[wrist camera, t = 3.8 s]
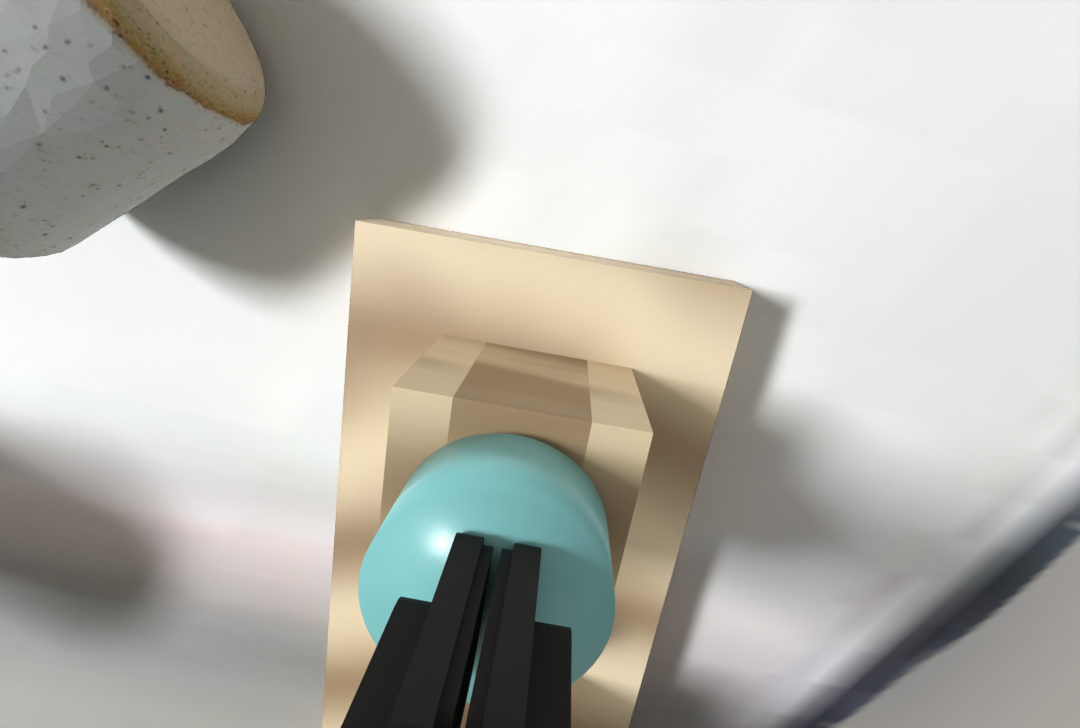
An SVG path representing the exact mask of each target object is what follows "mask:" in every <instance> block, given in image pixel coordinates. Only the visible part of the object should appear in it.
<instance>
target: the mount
mask: <svg viewBox="0 0 1080 728" xmlns="http://www.w3.org/2000/svg"><path fill="white" fill-rule="evenodd" d="M751 295H752V290H750V289H749V288H747V287H745V286H743V285H741V284H739V283H737V282H735V281H731V280H725V279H719V278H714V277H708V276H702V275H697V274H691V273H685V272H680V271H674V270H668V269H663V268H657V267H651V266H646V265H640V264H634V263H629V262H623V261H617V260H612V259H606V258H600V257H595V256H589V255H583V254H578V253H572V252H566V251H561V250H555V249H549V248H544V247H538V246H532V245H527V244H521V243H515V242H510V241H504V240H498V239H492V238H487V237H481V236H475V235H470V234H464V233H458V232H453V231H447V230H441V229H436V228H430V227H424V226H419V225H413V224H407V223H402V222H396V221H390V220H385V219H379V218H377V219H366V220H355V232H354V247H353V262H352V278H351V293H350V308H349V324H348V339H347V354H346V370H345V385H344V400H343V415H342V431H341V446H340V461H339V477H338V492H337V507H336V523H335V538H334V553H333V568H332V584H331V599H330V614H329V630H328V645H327V660H326V676H325V691H324V706H323V721H322V728H341V726H342V723H343V721H344V719H345V717H346V714H347V712H348V710H349V707H350V705H351V703H352V701H353V698H354V696H355V694H356V692H357V689H358V687H359V685H360V683H361V680H362V678H363V676H364V674H365V671H366V669H367V667H368V665H369V662H370V660H371V658H372V656H373V653H374V651H375V649H376V647H377V645H376V644H375V642H374V641H373V639H372V638H371V636H370V634H369V632H368V629H367V627H366V625H365V623H364V620H363V616H362V613H361V610H360V603H359V596H358V581H359V575H360V569H361V565H362V562H363V559H364V556H365V554H366V552H367V550H368V548H369V546H370V544H371V542H372V540H373V539H374V537H375V535H376V534H377V532H378V530H379V529H380V527H381V525H382V524H383V522H384V520H385V518H386V517H387V515H388V513H389V512H390V510H391V508H392V507H393V505H394V503H395V502H396V500H397V498H398V496H399V495H400V493H401V491H402V490H403V488H404V486H405V485H406V483H407V481H408V480H409V478H410V476H411V475H412V474H413V472H414V471H415V470H416V468H417V467H418V466H419V465H420V464H421V463H422V462H423V461H424V460H425V459H426V458H427V457H428V456H430V455H431V454H432V453H434V452H435V451H436V450H438V449H440V448H441V447H443V446H445V445H447V444H449V443H451V442H454V441H456V440H459V439H461V438H465V437H469V436H473V435H479V434H487V433H506V434H515V435H520V436H524V437H529V438H533V439H535V440H538V441H541V442H543V443H546V444H548V445H550V446H552V447H554V448H555V449H557V450H559V451H561V452H562V453H563V454H565V455H566V456H568V457H569V458H571V459H572V460H573V461H574V462H575V463H576V464H577V465H578V466H580V467H581V469H582V470H583V471H584V472H585V473H586V474H587V475H588V477H589V478H590V479H591V481H592V482H593V484H594V486H595V487H596V489H597V491H598V493H599V495H600V497H601V499H602V502H603V505H604V509H605V512H606V518H607V525H608V534H609V544H610V554H611V563H612V573H613V583H614V592H615V618H614V623H613V629H612V632H611V635H610V637H609V640H608V643H607V644H606V646H605V648H604V650H603V652H602V654H601V655H600V657H599V658H598V659H597V661H596V662H595V663H594V665H593V666H592V667H591V668H590V669H589V670H588V671H587V672H586V673H585V674H584V675H583V676H582V677H580V678H579V679H578V680H576V681H575V682H574V683H573V684H571V728H629V724H630V721H631V717H632V714H633V710H634V707H635V703H636V699H637V696H638V692H639V689H640V685H641V682H642V678H643V675H644V671H645V668H646V664H647V661H648V657H649V654H650V650H651V647H652V643H653V640H654V636H655V633H656V629H657V626H658V622H659V619H660V615H661V612H662V608H663V605H664V601H665V597H666V594H667V590H668V587H669V583H670V580H671V576H672V573H673V569H674V566H675V562H676V559H677V555H678V552H679V548H680V545H681V541H682V538H683V534H684V531H685V527H686V524H687V520H688V517H689V513H690V510H691V506H692V502H693V499H694V495H695V492H696V488H697V485H698V481H699V478H700V474H701V471H702V467H703V464H704V460H705V457H706V453H707V450H708V446H709V443H710V439H711V436H712V432H713V429H714V425H715V422H716V418H717V415H718V411H719V408H720V404H721V400H722V397H723V393H724V390H725V386H726V383H727V379H728V376H729V372H730V369H731V365H732V362H733V358H734V355H735V351H736V348H737V344H738V341H739V337H740V334H741V330H742V327H743V323H744V320H745V316H746V313H747V309H748V306H749V302H750V298H751ZM469 705H470V703H466V705H465V709H464V714H463V718H462V723H461V728H465V725H466V720H467V715H468V710H469Z"/></svg>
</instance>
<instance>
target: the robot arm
mask: <svg viewBox="0 0 1080 728" xmlns="http://www.w3.org/2000/svg"><path fill="white" fill-rule="evenodd" d="M483 544H484V537H480V536H475V535H469V534H464V533H458V532H457V533H456V535H455V538H454V540H453V543H452V546H451V549H450V552H449V554H448V557H447V560H446V563H445V566H444V568H443V571H442V574H441V577H440V580H439V582H438V585H437V588H436V591H435V594H434V597H433V599H432V602H428V601H423V600H418V599H412V598H407V597H400V598H399V599H398V600H397V602H396V604H395V606H394V608H393V611H392V613H391V615H390V617H389V620H388V622H387V624H386V626H385V629H384V631H383V633H382V635H381V638H380V640H379V642H378V644H377V647H376V649H375V651H374V653H373V656H372V658H371V660H370V662H369V665H368V667H367V669H366V671H365V674H364V676H363V678H362V680H361V683H360V685H359V687H358V689H357V692H356V694H355V696H354V698H353V701H352V703H351V705H350V707H349V710H348V712H347V714H346V717H345V719H344V721H343V723H342V726H341V728H461V723H462V718H463V714H464V709H465V705H466V700H467V695H468V691H469V686H470V681H471V677H472V672H473V667H474V662H475V656H476V650H477V644H478V638H479V632H480V626H481V620H482V614H483V608H484V602H485V596H486V590H487V584H488V578H489V572H490V566H491V560H492V554H493V547H492V546H486V545H483ZM541 551H542V548H541V547H535V546H530V545H524V544H519V543H514V548H513V550H508V549H503V548H502V552H501V557H500V561H499V566H498V571H497V576H496V581H495V585H494V590H493V595H492V600H491V604H490V609H489V614H488V619H487V624H486V628H485V633H484V638H483V643H482V647H481V652H480V657H479V662H478V667H477V671H476V676H475V681H474V686H473V690H472V695H471V700H470V705H469V710H468V715H467V720H466V725H465V728H571V663H572V632H571V628H570V627H565V626H559V625H554V624H548V623H543V622H537V621H535V614H536V604H537V593H538V583H539V573H540V562H541Z"/></svg>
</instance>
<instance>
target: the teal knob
mask: <svg viewBox="0 0 1080 728" xmlns="http://www.w3.org/2000/svg"><path fill="white" fill-rule="evenodd" d="M457 532H458V533H464V534H469V535H475V536H480V537H484V544H483V545H486V546H492V547H493V554H492V560H491V566H490V572H489V578H488V584H487V590H486V596H485V602H484V608H483V614H482V620H481V626H480V632H479V638H478V644H477V650H476V656H475V662H474V667H473V672H472V677H471V681H470V686H469V691H468V695H467V700H466V703H470V700H471V695H472V690H473V686H474V681H475V676H476V671H477V667H478V662H479V657H480V652H481V647H482V643H483V638H484V633H485V628H486V624H487V619H488V614H489V609H490V604H491V600H492V595H493V590H494V585H495V581H496V576H497V571H498V566H499V561H500V557H501V552H502V548H503V549H508V550H513V548H514V543H519V544H524V545H530V546H535V547H541V548H542V551H541V562H540V573H539V583H538V593H537V604H536V614H535V621H537V622H543V623H548V624H554V625H559V626H565V627H570V628H571V632H572V663H571V684H573V683H574V682H575V681H576V680H578V679H579V678H580V677H582V676H583V675H584V674H585V673H586V672H587V671H588V670H589V669H590V668H591V667H592V666H593V665H594V663H595V662H596V661H597V659H598V658H599V657H600V655H601V654H602V652H603V650H604V648H605V646H606V644H607V643H608V640H609V637H610V635H611V632H612V629H613V623H614V618H615V592H614V583H613V573H612V563H611V554H610V544H609V534H608V525H607V518H606V512H605V509H604V505H603V502H602V499H601V497H600V495H599V493H598V491H597V489H596V487H595V486H594V484H593V482H592V481H591V479H590V478H589V477H588V475H587V474H586V473H585V472H584V471H583V470H582V469H581V467H580V466H578V465H577V464H576V463H575V462H574V461H573V460H572V459H571V458H569V457H568V456H566V455H565V454H563V453H562V452H561V451H559V450H557V449H555V448H554V447H552V446H550V445H548V444H546V443H543V442H541V441H538V440H535V439H533V438H529V437H524V436H520V435H515V434H506V433H487V434H479V435H473V436H469V437H465V438H461V439H459V440H456V441H454V442H451V443H449V444H447V445H445V446H443V447H441V448H440V449H438V450H436V451H435V452H434V453H432V454H431V455H430V456H428V457H427V458H426V459H425V460H424V461H423V462H422V463H421V464H420V465H419V466H418V467H417V468H416V470H415V471H414V472H413V474H412V475H411V476H410V478H409V480H408V481H407V483H406V485H405V486H404V488H403V490H402V491H401V493H400V495H399V496H398V498H397V500H396V502H395V503H394V505H393V507H392V508H391V510H390V512H389V513H388V515H387V517H386V518H385V520H384V522H383V524H382V525H381V527H380V529H379V530H378V532H377V534H376V535H375V537H374V539H373V540H372V542H371V544H370V546H369V548H368V550H367V552H366V554H365V556H364V559H363V562H362V565H361V569H360V575H359V581H358V596H359V603H360V610H361V613H362V616H363V620H364V623H365V625H366V627H367V629H368V632H369V634H370V636H371V638H372V639H373V641H374V642H375V644H376V645H377V644H378V642H379V640H380V638H381V635H382V633H383V631H384V629H385V626H386V624H387V622H388V620H389V617H390V615H391V613H392V611H393V608H394V606H395V604H396V602H397V600H398V599H399V598H400V597H407V598H412V599H418V600H423V601H428V602H432V599H433V597H434V594H435V591H436V588H437V585H438V582H439V580H440V577H441V574H442V571H443V568H444V566H445V563H446V560H447V557H448V554H449V552H450V549H451V546H452V543H453V540H454V538H455V535H456V533H457Z"/></svg>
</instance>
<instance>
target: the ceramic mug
mask: <svg viewBox="0 0 1080 728" xmlns="http://www.w3.org/2000/svg"><path fill="white" fill-rule="evenodd" d="M264 100H265V83H264V74H263V71H262V67H261V63H260V59H259V57H258V55H257V53H256V50H255V48H254V46H253V44H252V41H251V39H250V37H249V35H248V33H247V30H246V29H245V27H244V25H243V24H242V22H241V21H240V19H239V17H238V16H237V14H236V12H235V10H234V8H233V6H232V4H231V3H230V1H229V0H0V257H7V258H24V257H39V256H47V255H51V254H55V253H59V252H63V251H65V250H67V249H69V248H70V247H72V246H74V245H76V244H78V243H80V242H81V241H83V240H84V239H86V238H87V237H89V236H90V235H92V234H93V233H95V232H97V231H98V230H100V229H101V228H103V227H104V226H106V225H108V224H109V223H111V222H112V221H114V220H116V219H117V218H119V217H120V216H122V215H123V214H125V213H127V212H128V211H130V210H131V209H133V208H134V207H136V206H137V205H139V204H141V203H142V202H144V201H145V200H147V199H148V198H150V197H151V196H153V195H154V194H156V193H157V192H159V191H160V190H162V189H163V188H165V187H166V186H168V185H169V184H171V183H172V182H174V181H175V180H177V179H178V178H180V177H181V176H183V175H184V174H186V173H188V172H189V171H191V170H193V169H195V168H196V167H198V166H200V165H202V164H203V163H205V162H207V161H208V160H210V159H212V158H213V157H215V156H216V155H217V154H219V153H220V152H222V151H223V150H224V149H226V148H227V147H229V146H230V145H231V144H233V143H234V142H235V141H236V140H237V139H238V138H239V137H240V136H241V135H242V133H243V132H244V131H245V130H247V129H248V128H249V127H250V126H251V125H252V124H253V123H254V122H255V121H256V120H257V118H258V117H259V115H260V113H261V111H262V109H263V106H264Z"/></svg>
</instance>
